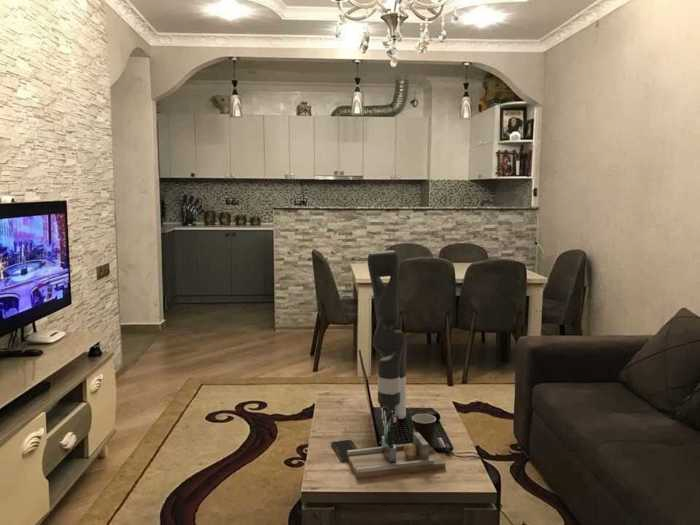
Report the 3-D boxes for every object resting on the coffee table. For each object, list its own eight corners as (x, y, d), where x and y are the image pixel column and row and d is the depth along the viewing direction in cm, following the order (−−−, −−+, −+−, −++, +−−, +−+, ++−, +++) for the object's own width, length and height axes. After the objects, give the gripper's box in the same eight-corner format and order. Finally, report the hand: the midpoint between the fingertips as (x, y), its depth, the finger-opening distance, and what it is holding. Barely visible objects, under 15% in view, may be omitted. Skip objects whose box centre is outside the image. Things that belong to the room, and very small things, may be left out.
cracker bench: (346, 458, 206) (346, 436, 204) (429, 449, 212) (429, 428, 211) (357, 479, 191) (357, 455, 190) (445, 468, 198) (445, 445, 197)
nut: (401, 454, 204) (402, 441, 204) (414, 452, 205) (414, 440, 205) (406, 459, 200) (406, 447, 199) (418, 458, 201) (418, 446, 200)
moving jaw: (380, 452, 205) (380, 416, 204) (389, 451, 206) (389, 415, 204) (388, 465, 196) (388, 428, 194) (397, 464, 196) (398, 427, 195)
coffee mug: (434, 451, 211) (435, 423, 210) (410, 449, 213) (410, 422, 211) (436, 437, 222) (437, 411, 221) (413, 435, 224) (413, 410, 223)
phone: (351, 439, 219) (363, 457, 205) (351, 442, 219) (363, 460, 205) (330, 442, 217) (341, 460, 203) (330, 445, 217) (341, 463, 203)
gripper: (372, 383, 204) (372, 431, 206) (384, 397, 190) (384, 448, 192) (393, 381, 205) (393, 429, 208) (406, 395, 192) (406, 446, 194)
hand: (388, 438), depth 200 cm, fingers closed on moving jaw, 3 cm apart
